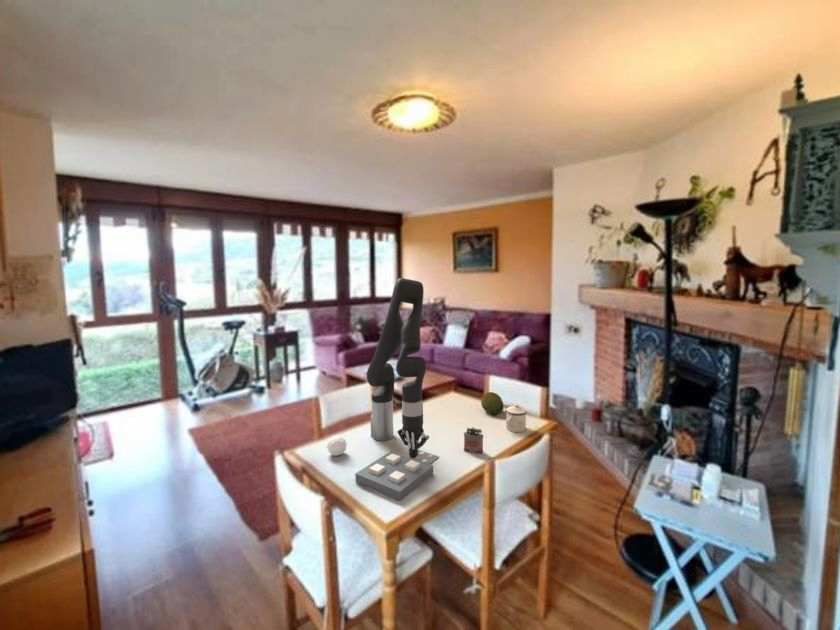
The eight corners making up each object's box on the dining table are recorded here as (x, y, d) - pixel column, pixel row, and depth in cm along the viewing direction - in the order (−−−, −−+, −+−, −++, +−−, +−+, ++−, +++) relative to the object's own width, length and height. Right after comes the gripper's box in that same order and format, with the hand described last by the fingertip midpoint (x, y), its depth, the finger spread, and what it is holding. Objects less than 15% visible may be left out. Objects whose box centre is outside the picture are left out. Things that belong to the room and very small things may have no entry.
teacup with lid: (511, 422, 192) (512, 399, 191) (529, 428, 186) (530, 404, 185) (498, 431, 183) (499, 406, 182) (516, 436, 178) (517, 411, 176)
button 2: (404, 471, 146) (404, 464, 145) (411, 466, 149) (411, 459, 148) (413, 474, 143) (413, 467, 143) (420, 469, 147) (420, 463, 146)
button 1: (385, 464, 151) (385, 457, 150) (392, 459, 154) (392, 453, 154) (394, 467, 148) (393, 460, 148) (400, 462, 152) (400, 456, 151)
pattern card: (407, 458, 159) (407, 457, 159) (418, 450, 166) (418, 449, 166) (428, 465, 154) (428, 464, 154) (439, 457, 160) (439, 456, 160)
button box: (355, 482, 143) (355, 473, 142) (391, 459, 159) (390, 451, 159) (400, 501, 132) (399, 491, 131) (433, 474, 148) (433, 465, 147)
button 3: (369, 474, 143) (369, 468, 143) (376, 470, 147) (376, 463, 146) (377, 478, 141) (377, 471, 141) (385, 473, 144) (385, 466, 144)
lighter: (462, 451, 165) (462, 428, 163) (464, 447, 168) (465, 425, 166) (482, 454, 162) (482, 431, 160) (483, 451, 165) (484, 427, 164)
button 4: (388, 482, 138) (388, 475, 138) (396, 477, 142) (396, 470, 141) (398, 486, 136) (397, 479, 136) (405, 481, 139) (405, 474, 139)
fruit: (491, 406, 214) (491, 388, 213) (510, 413, 204) (510, 394, 203) (476, 411, 207) (476, 393, 205) (495, 419, 197) (495, 399, 196)
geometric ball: (340, 462, 163) (341, 453, 157) (323, 454, 164) (323, 444, 158) (349, 446, 168) (350, 436, 163) (332, 438, 169) (333, 429, 164)
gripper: (391, 411, 144) (392, 457, 146) (421, 419, 136) (422, 467, 139) (403, 405, 150) (405, 448, 152) (433, 412, 142) (434, 458, 145)
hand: (413, 457), depth 145 cm, fingers closed
